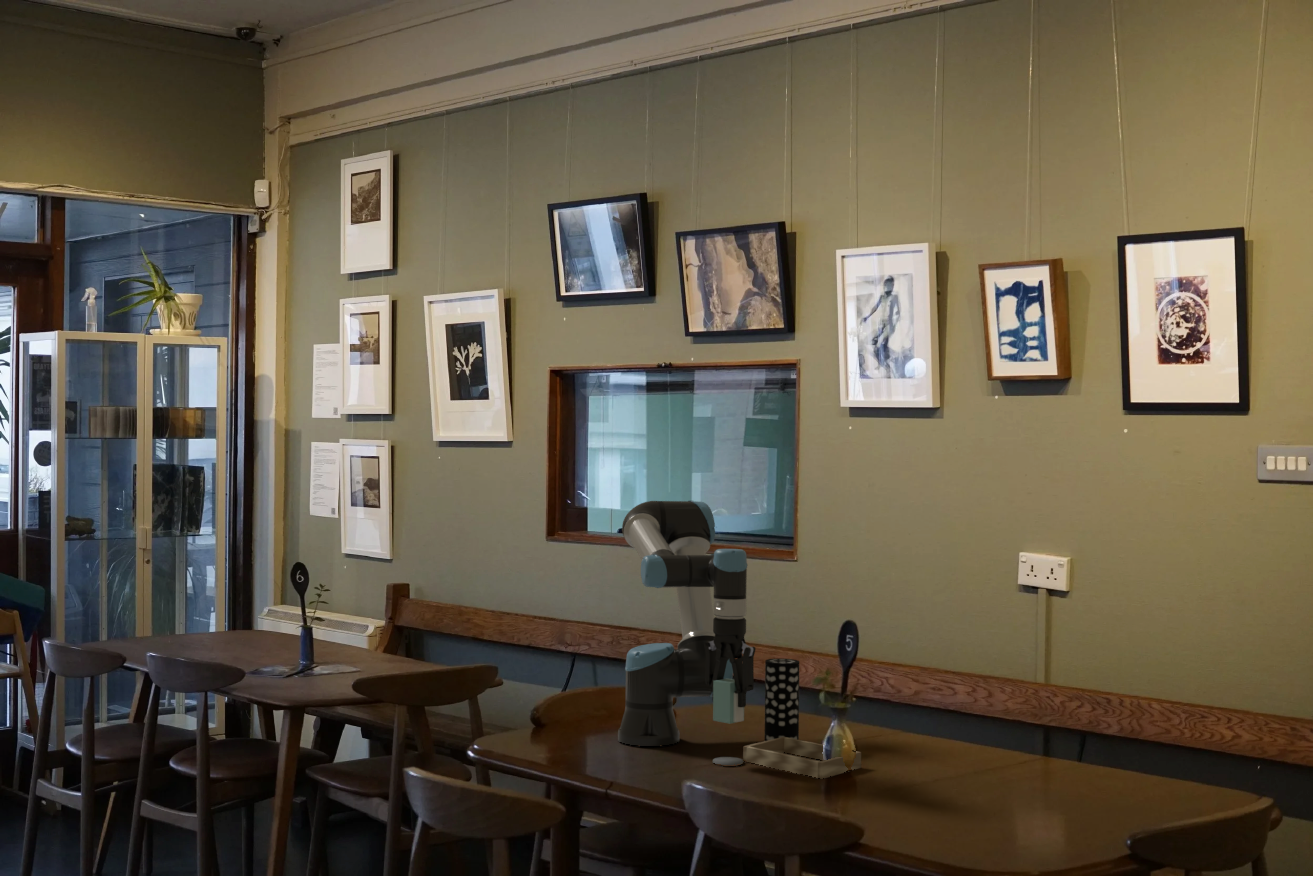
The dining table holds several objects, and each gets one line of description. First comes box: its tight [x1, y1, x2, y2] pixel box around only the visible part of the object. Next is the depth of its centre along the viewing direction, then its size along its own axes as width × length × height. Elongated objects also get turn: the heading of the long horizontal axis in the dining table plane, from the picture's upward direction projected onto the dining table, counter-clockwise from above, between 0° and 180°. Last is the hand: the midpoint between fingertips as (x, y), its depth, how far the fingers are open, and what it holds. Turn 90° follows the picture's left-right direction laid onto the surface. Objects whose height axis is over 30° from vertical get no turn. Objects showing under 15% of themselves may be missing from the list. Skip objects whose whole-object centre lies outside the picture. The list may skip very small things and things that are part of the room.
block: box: [712, 678, 737, 725], centre depth 284 cm, size 5×5×9 cm
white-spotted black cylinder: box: [764, 657, 800, 741], centre depth 306 cm, size 8×8×20 cm
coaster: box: [712, 756, 745, 765], centre depth 284 cm, size 7×7×1 cm
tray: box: [742, 737, 862, 780], centre depth 283 cm, size 22×15×4 cm
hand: (728, 719), depth 284 cm, fingers closed on block, 5 cm apart
